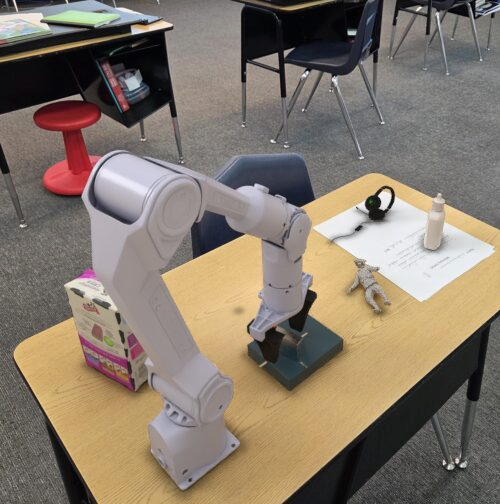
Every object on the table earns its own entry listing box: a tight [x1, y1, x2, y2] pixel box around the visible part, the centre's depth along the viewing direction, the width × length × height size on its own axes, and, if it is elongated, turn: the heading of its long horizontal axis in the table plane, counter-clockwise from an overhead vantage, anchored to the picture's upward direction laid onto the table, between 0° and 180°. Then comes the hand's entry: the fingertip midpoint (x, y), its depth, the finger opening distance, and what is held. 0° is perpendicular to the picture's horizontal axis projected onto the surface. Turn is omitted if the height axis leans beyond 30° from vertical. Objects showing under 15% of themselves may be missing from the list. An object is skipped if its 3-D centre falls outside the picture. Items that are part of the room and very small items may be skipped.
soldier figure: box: [346, 258, 392, 314], centre depth 100 cm, size 8×5×12 cm
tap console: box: [246, 313, 344, 392], centre depth 87 cm, size 14×10×3 cm
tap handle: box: [274, 325, 303, 361], centre depth 85 cm, size 6×2×4 cm, turn 59°
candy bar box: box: [63, 268, 148, 393], centre depth 82 cm, size 11×5×16 cm, turn 59°
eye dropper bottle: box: [423, 192, 446, 251], centre depth 112 cm, size 4×6×12 cm
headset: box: [330, 185, 396, 243], centre depth 121 cm, size 7×7×20 cm
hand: (283, 344), depth 85 cm, fingers open, 7 cm apart
